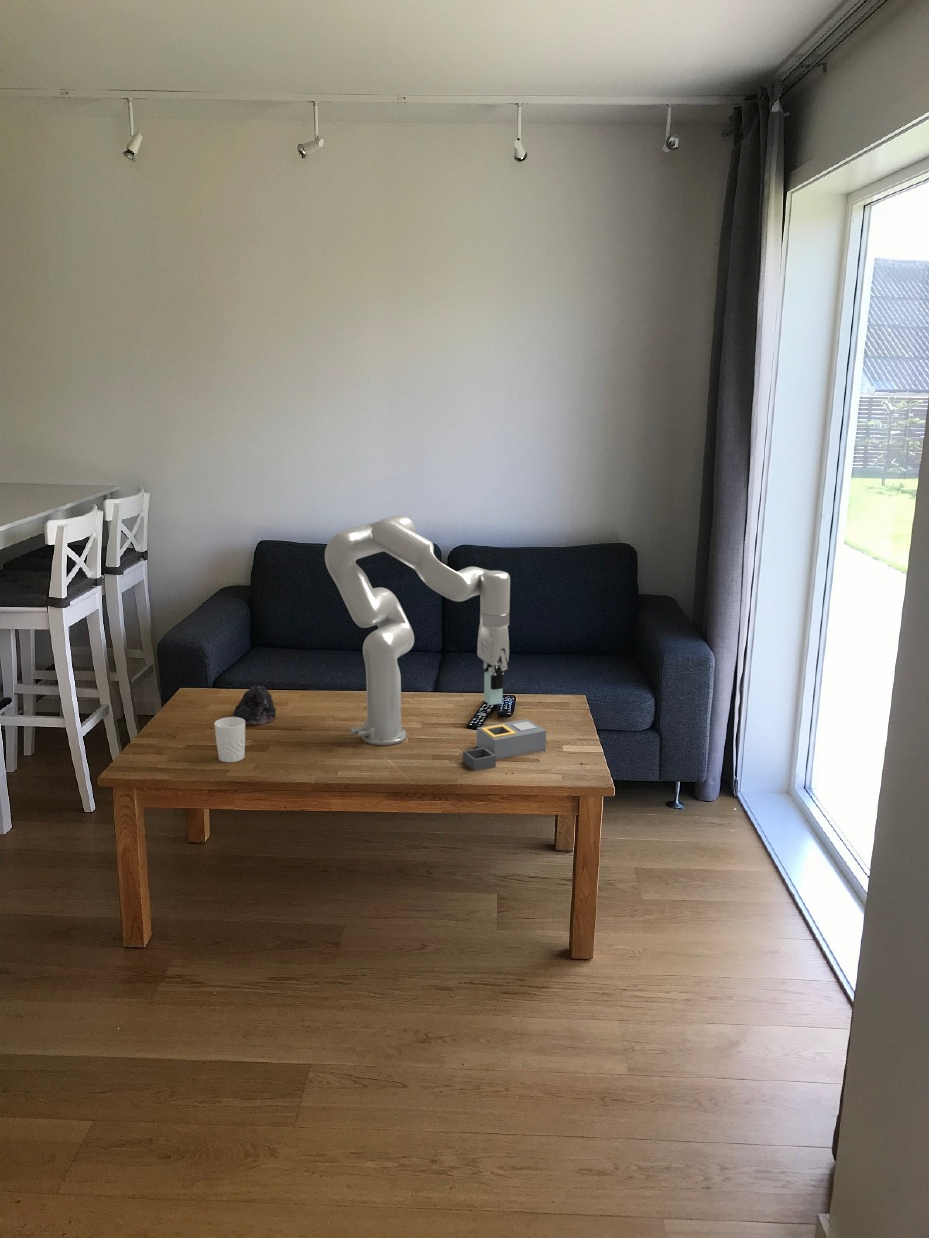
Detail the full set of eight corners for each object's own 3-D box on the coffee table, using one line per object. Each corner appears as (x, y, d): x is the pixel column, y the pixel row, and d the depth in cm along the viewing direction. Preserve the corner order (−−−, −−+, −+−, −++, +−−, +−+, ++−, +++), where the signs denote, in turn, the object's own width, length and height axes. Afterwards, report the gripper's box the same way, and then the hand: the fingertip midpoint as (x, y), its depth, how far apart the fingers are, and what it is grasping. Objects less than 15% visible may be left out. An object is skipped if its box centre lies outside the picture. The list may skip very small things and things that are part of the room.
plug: (489, 704, 242) (490, 670, 240) (484, 700, 245) (484, 666, 243) (502, 703, 243) (502, 668, 241) (496, 698, 247) (496, 664, 244)
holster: (473, 772, 238) (474, 760, 237) (462, 763, 244) (462, 751, 243) (495, 768, 241) (496, 755, 240) (484, 759, 247) (484, 747, 246)
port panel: (494, 761, 246) (494, 739, 244) (476, 748, 254) (476, 726, 253) (545, 751, 253) (546, 729, 251) (526, 738, 261) (527, 717, 260)
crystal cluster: (249, 732, 265) (252, 700, 263) (221, 717, 273) (223, 685, 271) (286, 723, 276) (289, 692, 273) (257, 709, 284) (260, 678, 281)
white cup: (231, 765, 240) (229, 729, 238) (210, 759, 245) (207, 723, 242) (253, 755, 247) (251, 720, 244) (231, 749, 251) (230, 714, 248)
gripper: (468, 612, 244) (467, 678, 249) (495, 628, 230) (494, 697, 234) (493, 610, 247) (492, 675, 252) (522, 625, 233) (520, 694, 237)
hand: (493, 685), depth 243 cm, fingers closed on plug, 3 cm apart
